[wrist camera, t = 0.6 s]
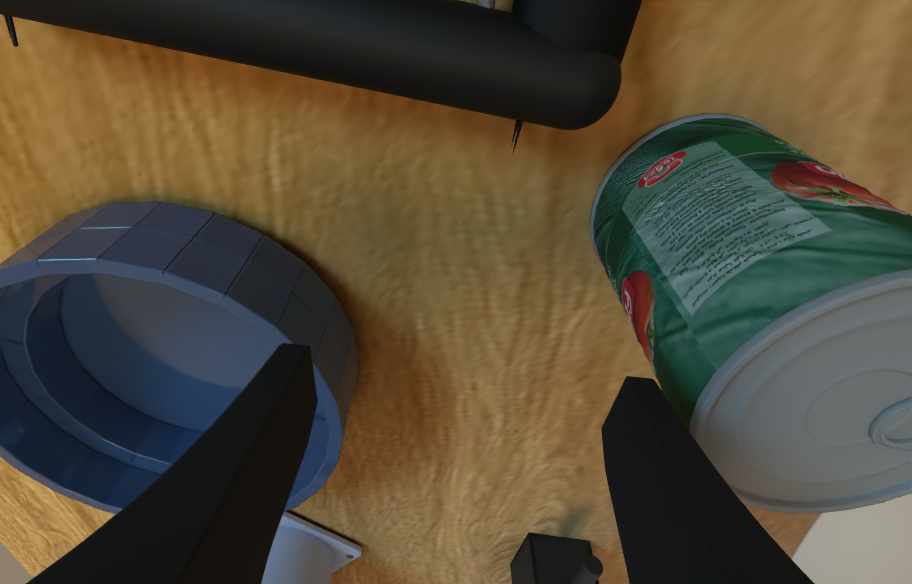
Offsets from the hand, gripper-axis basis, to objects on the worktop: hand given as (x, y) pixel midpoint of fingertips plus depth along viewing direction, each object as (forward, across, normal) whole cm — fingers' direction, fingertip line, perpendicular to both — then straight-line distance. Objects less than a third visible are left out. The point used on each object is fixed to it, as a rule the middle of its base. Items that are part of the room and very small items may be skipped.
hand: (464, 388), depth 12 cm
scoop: (+8, -9, +25) cm, 28 cm away
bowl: (+9, +12, +10) cm, 18 cm away
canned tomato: (+11, -9, +1) cm, 14 cm away
